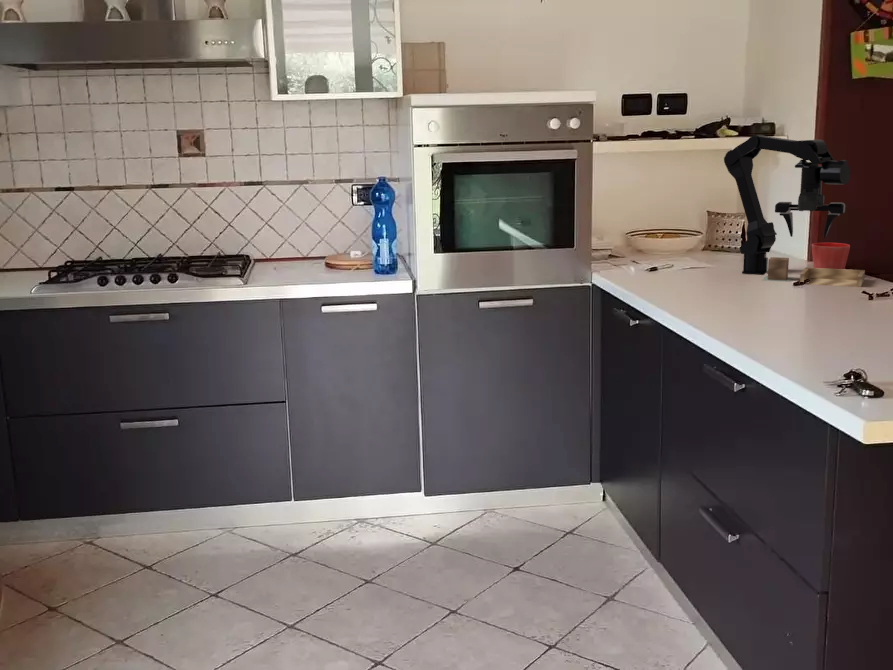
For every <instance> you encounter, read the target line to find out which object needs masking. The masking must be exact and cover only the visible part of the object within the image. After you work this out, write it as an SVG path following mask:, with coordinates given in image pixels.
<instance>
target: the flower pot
mask: <svg viewBox="0 0 893 670" xmlns="http://www.w3.org/2000/svg"><path fill="white" fill-rule="evenodd" d="M850 249H851V245H850V243H849V244H848V243H843V242H842V243H841V242H814V243H811V253H812V255H811V256H812V263H813V268H825V269H846V266H847V265H846V264H847V261H848V257H849V253H850Z"/></svg>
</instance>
